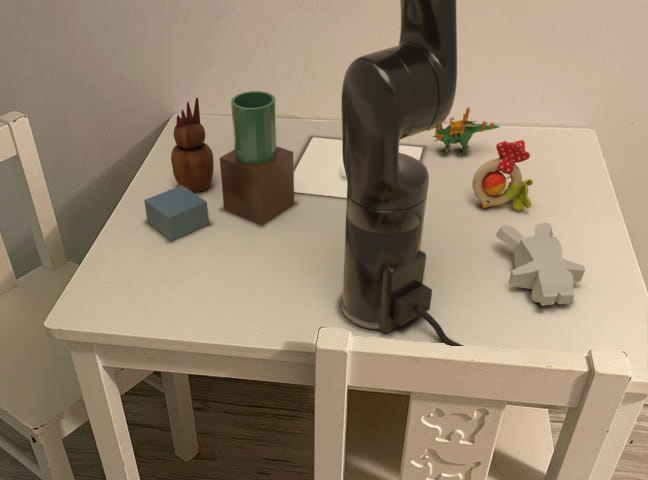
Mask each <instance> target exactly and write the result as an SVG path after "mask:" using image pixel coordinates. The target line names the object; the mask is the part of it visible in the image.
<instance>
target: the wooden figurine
mask: <svg viewBox="0 0 648 480" xmlns="http://www.w3.org/2000/svg"><path fill="white" fill-rule="evenodd" d="M191 109H192V108H191V106H190V103H189V101H186V114H185V111H184V109H181V110H180V111H181V112H180V114H181V115H179V114H177V115H176V124H175V125H174V129H173V140H174V141H175V144H176V145H174V146H173V148H172V149H171V155H170V161H171V167H172V173H173V177H174V179H175V181H176V183H177V184H178V186H181V185H183V186H184V187H186V188H187V189H189V190H190V191H192V192H193V193H194V192H201V191H204V190H206V189H208V188H209V187H210V186H211V182H212V180H213V175H214V167H215V165H214V153H213V151H212V148H211V146H209V145H208V144H207V143H206V142H205V140H206V131H205V128H204V126H203V124H202V123H201V114H200V113H201V112H200V101H199V97H195V101H194V107H193V113H192V110H191ZM180 116H181V117H180Z"/></svg>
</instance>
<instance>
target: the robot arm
mask: <svg viewBox="0 0 648 480" xmlns="http://www.w3.org/2000/svg"><path fill="white" fill-rule="evenodd" d="M399 3H400V4H399V5H400V32H399V41H398V44H397V45H395V46H392V47H389V48H385V49H382V50H381V49H380V50H378V51H374V52H371V53H368V54H363V55H361V56H360V57H357V58H355V59H354V60H353V61H352V62H350V64H349V65H348V67H347V69H346V71H345V73H344V78H343V81H342V86H341V97H340V98H341V99H340V100H341V101H340V102H341V105H340V106H341V108H340V109H341V110H340V111H341V140H342V156H343V164H344V169H345V173H346V178H347V198H346V207H345V208H346V210H345V227H344V228H345V229H344V230H345V231H344V257H343V278H342V279H343V281H342V286H343V287H342V298H341V310H342V313H343V315H344V316H345V318H347V320H349V321H350V322H352V323H353V324H355V325H357V326H359V327H362V328H365V329H369V330H379V331H381V332H382V333H383V334H388V333H390V332H391V331H394V330H395V329H397V328H399V327H400V326H404V325H405V324H407V323H409V322H411V321H412V320H414V319H417V317H420V316H421V318H422V319H424V320H425V321H426V322H427V323H428V324H429V326H431V327H432V328H433V330H434V331H435V333H436V334H437V336H438V338H439V339H440V341H441V342H443V343H444V344H445V346H447V345H450V346H464V344H460V343H458V342H456V341H454V340H452V339H451V338H449V337H448V336H447V334H446V333H445V332H444V330H443V328H442V326H441V324H439V322H438V321H437V320H436V319H435V318H434V317H433V316H432V315H430V313H428V311H429V310H430V309H431V302H432V296H433V295H432V294H433V289H432V288H430V287H429V286H427V285H425V284H424V278H425V270H426V263H427V253H426V252H425V251H423V250H421V247H422V240H423V239H422V238H423V230H424V222H425V215H426V206H427V199H428V190H429V181H430V176H429V170H428V168H427V166H426V165H425V164H424V163H423V162H422V161H421V160H420V159H419V160H418V159H416V158H414V157H412V156H409V155H407V154H403V153H399V145H400V141H401V140H403V139H406V138H408V137H409V138H410V137H411V136H414V135H417V134H421V133H424V132H427V131H428V130H429V129H431V130H433V129H432V128H434V127H435V128H436V126H438V125H439V124H443V122H445V121H446V120H447V118H448V117H449V115H450V113H451V111H452V109H453V106H454V103H455V99H456V93H457V83H458V26H457V25H458V23H457V22H458V21H457V0H399ZM444 120H445V121H444ZM435 128H434V129H435ZM429 131H430V130H429Z"/></svg>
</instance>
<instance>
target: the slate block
mask: <svg viewBox="0 0 648 480" xmlns="http://www.w3.org/2000/svg"><path fill="white" fill-rule="evenodd" d="M143 203H144V207H145V208H144V209H145V213H146V220H147V223H148V224H149V225H151V226H152V227H153V228H154V229H156V230H157V231H158V232H159V233H161V234H162V235H163V236H165V237H166V238H168V239H169V240H170V241H174V240H176V239H179V238H181V237H183V236H186V235H188V234H190V233H192V232H195V231H197V230H199V229H201V228H204V227H207V226H208V225H210V219H209V210H208V209H209V208H208V202H207V201H206V200H205V199H204V198H202V197H200V196H199V195H198V194H197V193H194V192H193V191H190V190H189V189H187V188H186V187H184V186H183V185H181V186H179V185H178V186H176V187H173V188H170V189H168V190H166V191H163V192H161V193H158V194H156V195H153V196H151V197H148V198H146V199H144V200H143Z"/></svg>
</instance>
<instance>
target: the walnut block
mask: <svg viewBox="0 0 648 480" xmlns="http://www.w3.org/2000/svg"><path fill="white" fill-rule="evenodd" d="M294 164H295V163H294V151H292V150H289V149H287V148H283V147H280V146H278V145H277V155H276V157H275V158H274V159H273V160H271V161H269V162H267V163H263V164H246V163H242V162H240V161H239V160H237V158H236V156H235V148H234V149H232V150H231V151H229V152H227V153H225V154H224V155H222V156H220V157H219V167H220V179H221V190H222V191H221V192H222V200H223V201H222V202H223V210H224V211H227V212H228V213H231V214H234V215H236V216H239V217H241V218H243V219H246V220H248V221H250V222H253V223H256V224H258V225H260V226H264V225H265V224H267V223H268V222H269V221H271V220H273V219H274V218H275V217H277V216H278V215H280V214H281V213H283V212H284V211H286V210H287V209H289V208H291V207H292V206H293V205H295V192H294V171H295V169H294V166H295V165H294Z"/></svg>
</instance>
